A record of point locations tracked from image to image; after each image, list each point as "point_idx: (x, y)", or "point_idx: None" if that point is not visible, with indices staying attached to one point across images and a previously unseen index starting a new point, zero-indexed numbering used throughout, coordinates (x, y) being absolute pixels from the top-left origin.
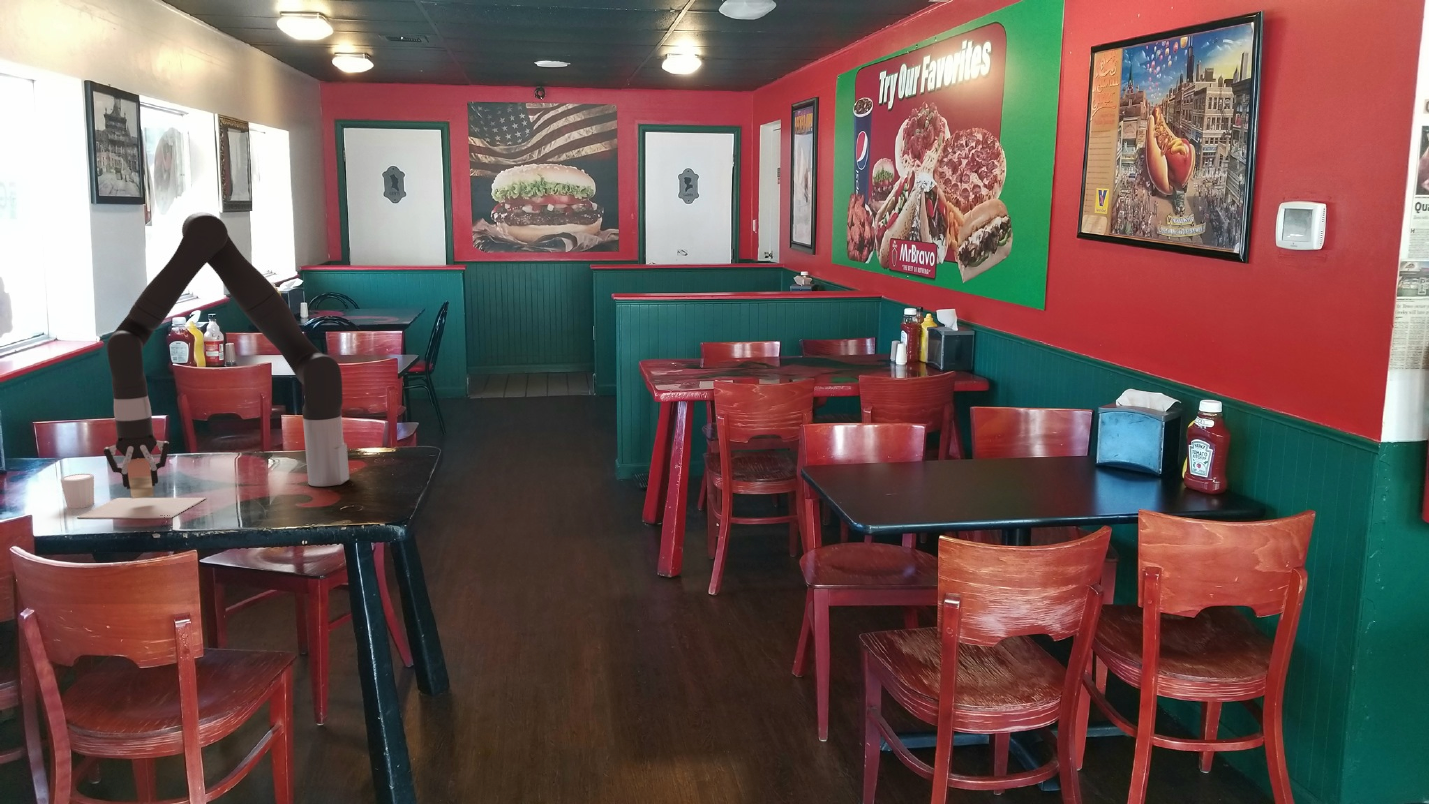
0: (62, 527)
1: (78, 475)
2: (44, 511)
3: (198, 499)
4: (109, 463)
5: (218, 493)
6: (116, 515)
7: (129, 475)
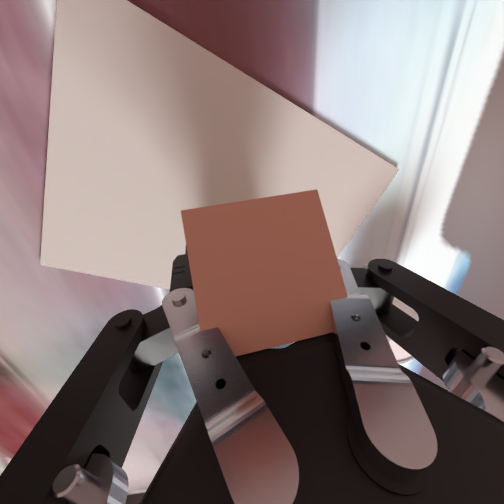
0: (455, 69)
1: (404, 353)
2: (427, 261)
3: (61, 249)
4: (447, 291)
5: (30, 310)
6: (305, 138)
7: (311, 198)
